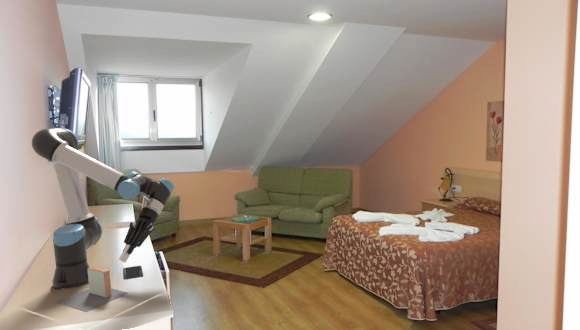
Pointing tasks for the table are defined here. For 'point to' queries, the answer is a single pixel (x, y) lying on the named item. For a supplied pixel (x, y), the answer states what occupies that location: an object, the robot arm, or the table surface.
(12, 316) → the table surface
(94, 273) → the tile
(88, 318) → the table surface
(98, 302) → the mat
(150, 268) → the table surface
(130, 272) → the phone
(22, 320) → the table surface
